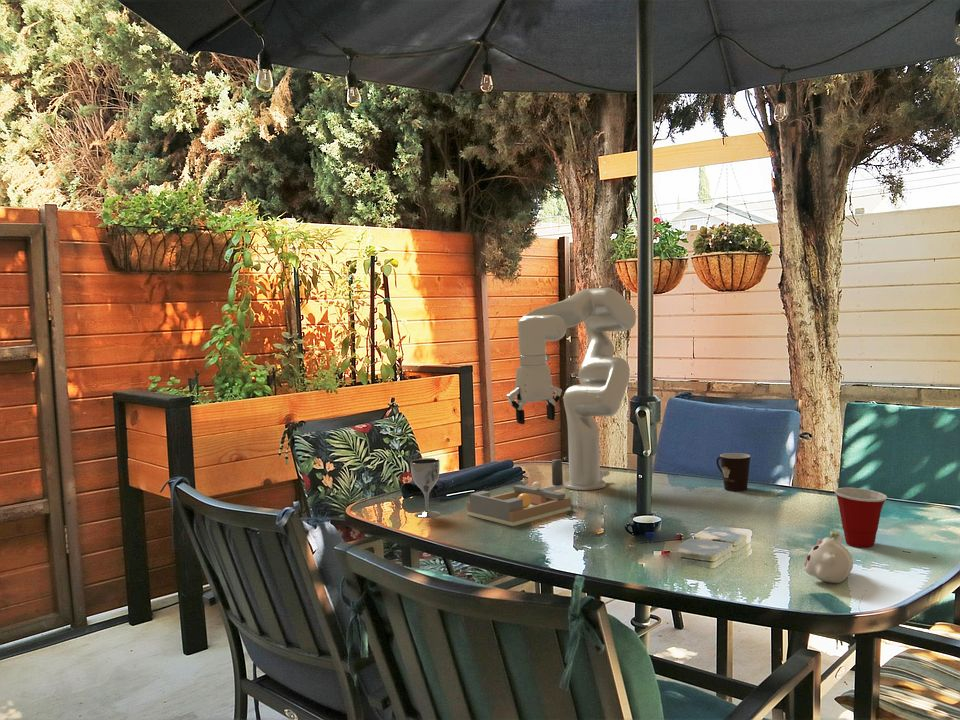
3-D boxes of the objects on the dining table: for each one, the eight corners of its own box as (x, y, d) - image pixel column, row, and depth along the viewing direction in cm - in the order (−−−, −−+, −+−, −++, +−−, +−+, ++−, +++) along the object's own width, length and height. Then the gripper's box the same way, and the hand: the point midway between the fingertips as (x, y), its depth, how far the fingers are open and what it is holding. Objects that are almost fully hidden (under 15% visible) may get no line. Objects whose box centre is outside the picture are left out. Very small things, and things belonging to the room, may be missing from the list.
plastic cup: (887, 553, 179) (886, 498, 179) (832, 548, 184) (832, 495, 184) (888, 540, 189) (888, 488, 188) (837, 535, 194) (836, 485, 193)
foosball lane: (525, 500, 241) (524, 480, 241) (570, 510, 228) (570, 488, 227) (467, 514, 227) (466, 493, 226) (512, 526, 213) (511, 503, 213)
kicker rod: (540, 491, 245) (539, 455, 245) (586, 500, 232) (585, 462, 231) (511, 498, 238) (510, 461, 237) (557, 508, 224) (556, 469, 223)
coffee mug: (754, 491, 241) (754, 457, 240) (725, 492, 241) (724, 458, 240) (742, 483, 252) (742, 450, 252) (714, 484, 253) (713, 451, 252)
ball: (524, 505, 231) (524, 491, 231) (534, 507, 228) (534, 493, 228) (514, 507, 229) (513, 493, 228) (524, 510, 226) (523, 495, 225)
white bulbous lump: (830, 522, 171) (822, 532, 158) (866, 546, 168) (861, 558, 155) (804, 559, 173) (794, 572, 160) (840, 583, 170) (833, 599, 157)
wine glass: (443, 510, 232) (441, 457, 232) (439, 518, 225) (437, 463, 224) (415, 511, 233) (413, 458, 232) (410, 518, 225) (408, 463, 224)
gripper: (552, 358, 239) (555, 416, 241) (499, 363, 232) (502, 423, 233) (566, 359, 232) (569, 419, 234) (512, 364, 225) (515, 426, 227)
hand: (536, 421), depth 234 cm, fingers open, 9 cm apart
